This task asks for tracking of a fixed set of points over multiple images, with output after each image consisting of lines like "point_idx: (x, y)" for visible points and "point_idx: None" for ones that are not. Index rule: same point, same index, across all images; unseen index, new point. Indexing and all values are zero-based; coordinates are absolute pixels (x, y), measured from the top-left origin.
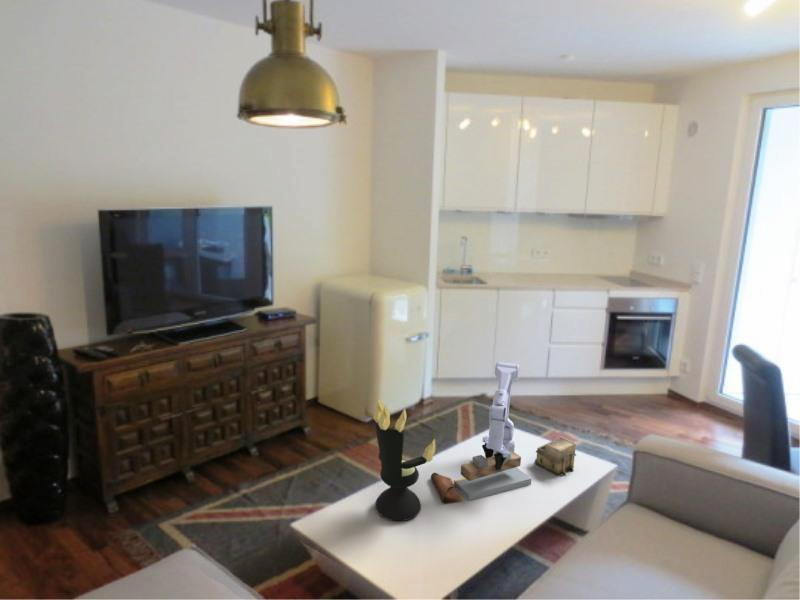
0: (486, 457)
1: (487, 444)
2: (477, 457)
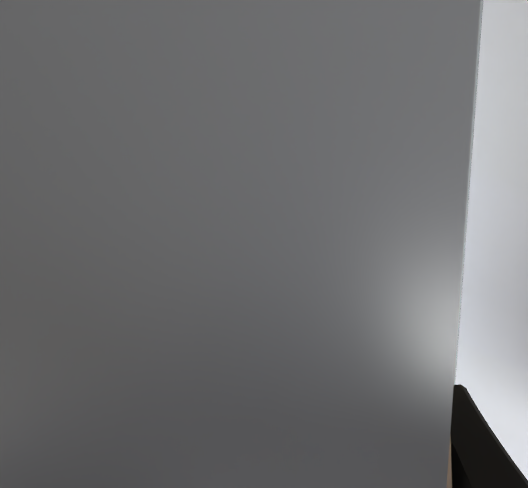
0: (475, 480)
1: None
2: (204, 253)
